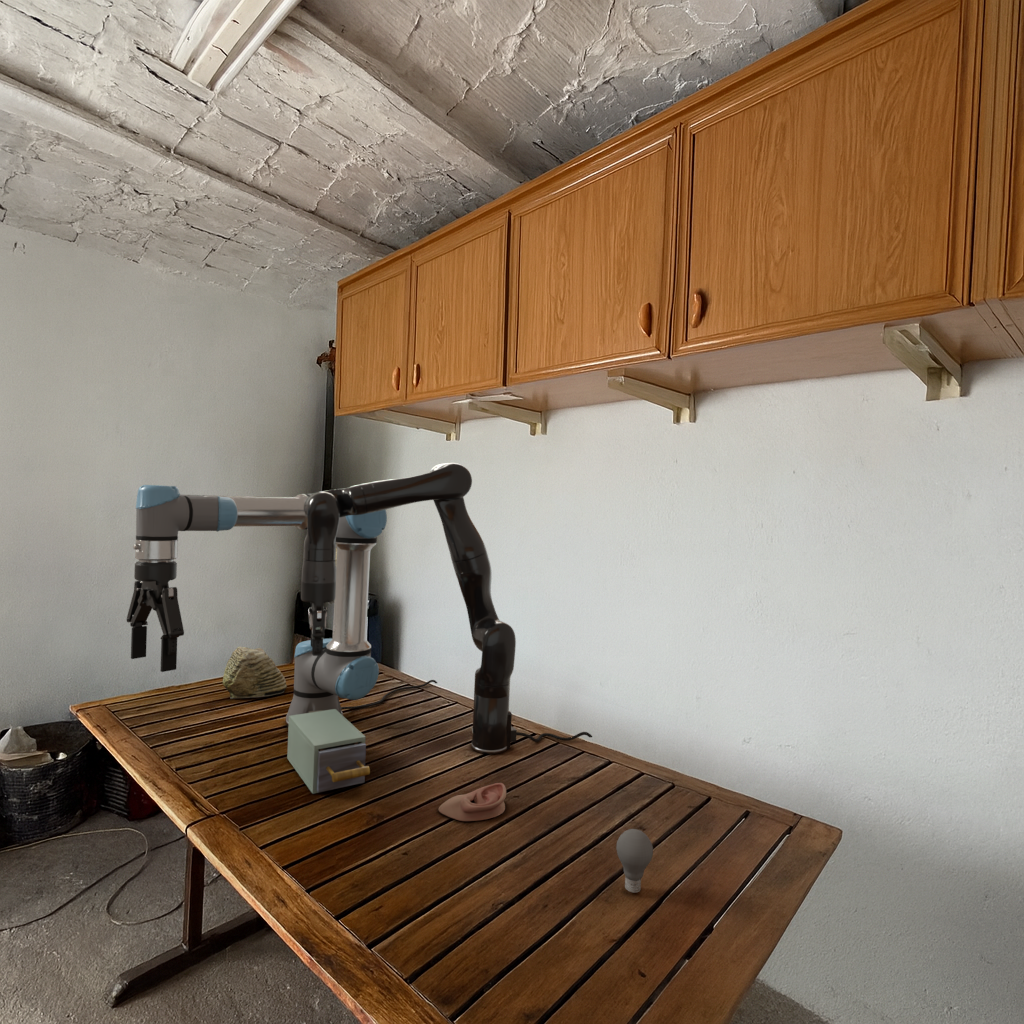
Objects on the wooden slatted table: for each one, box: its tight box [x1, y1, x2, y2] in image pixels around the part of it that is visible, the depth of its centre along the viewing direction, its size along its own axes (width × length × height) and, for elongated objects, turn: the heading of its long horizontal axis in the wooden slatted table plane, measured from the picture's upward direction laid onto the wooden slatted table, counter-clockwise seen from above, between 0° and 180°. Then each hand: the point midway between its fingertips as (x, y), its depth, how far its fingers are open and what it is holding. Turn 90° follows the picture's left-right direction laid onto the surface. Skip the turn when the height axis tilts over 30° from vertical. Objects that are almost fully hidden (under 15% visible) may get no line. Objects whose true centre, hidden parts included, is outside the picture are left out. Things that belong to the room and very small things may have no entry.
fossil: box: [222, 646, 288, 699], centre depth 198 cm, size 9×18×15 cm, turn 132°
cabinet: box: [286, 709, 366, 795], centre depth 147 cm, size 21×11×10 cm, turn 34°
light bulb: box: [615, 828, 654, 894], centre depth 106 cm, size 6×6×10 cm
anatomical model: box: [438, 782, 507, 822], centre depth 131 cm, size 13×4×12 cm
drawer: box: [317, 742, 371, 794], centre depth 142 cm, size 26×10×8 cm, turn 34°
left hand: (152, 664), depth 130 cm, fingers open, 13 cm apart
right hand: (316, 650), depth 144 cm, fingers open, 8 cm apart
